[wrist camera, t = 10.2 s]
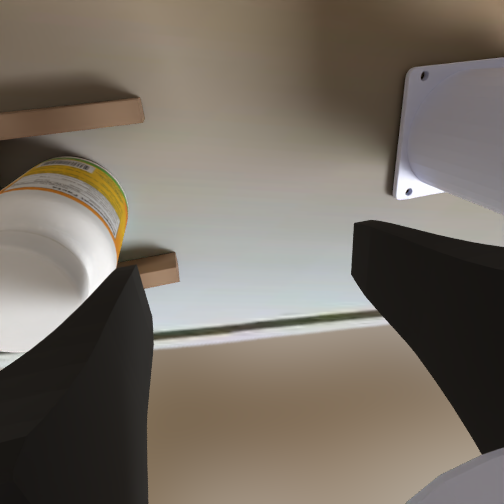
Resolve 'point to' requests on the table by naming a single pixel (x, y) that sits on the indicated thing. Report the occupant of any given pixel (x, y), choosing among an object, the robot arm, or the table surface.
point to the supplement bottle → (55, 245)
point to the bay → (84, 118)
